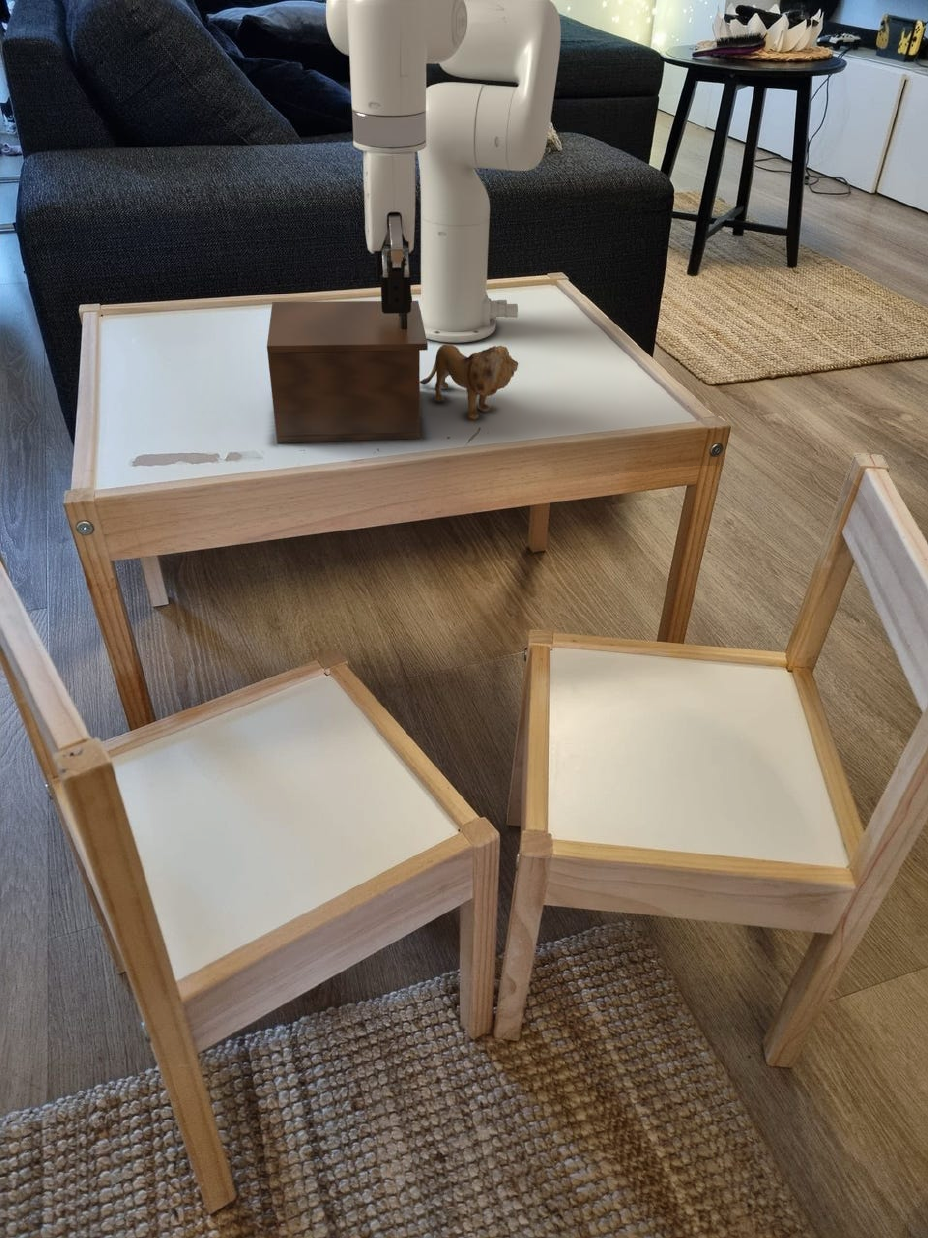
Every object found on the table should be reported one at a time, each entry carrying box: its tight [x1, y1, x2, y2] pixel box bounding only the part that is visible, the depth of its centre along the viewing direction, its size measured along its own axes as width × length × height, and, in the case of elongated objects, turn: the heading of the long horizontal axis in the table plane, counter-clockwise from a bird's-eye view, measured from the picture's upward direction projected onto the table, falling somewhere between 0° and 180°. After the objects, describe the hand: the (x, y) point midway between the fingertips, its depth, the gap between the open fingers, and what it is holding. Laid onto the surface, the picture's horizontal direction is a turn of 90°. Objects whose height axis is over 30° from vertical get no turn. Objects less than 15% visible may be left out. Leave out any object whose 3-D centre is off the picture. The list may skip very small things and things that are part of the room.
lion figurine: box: [420, 343, 519, 420], centre depth 113 cm, size 15×5×9 cm, turn 50°
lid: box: [266, 294, 429, 354], centre depth 105 cm, size 18×14×5 cm
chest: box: [267, 351, 421, 444], centre depth 109 cm, size 17×14×11 cm
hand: (393, 296), depth 105 cm, fingers open, 9 cm apart
